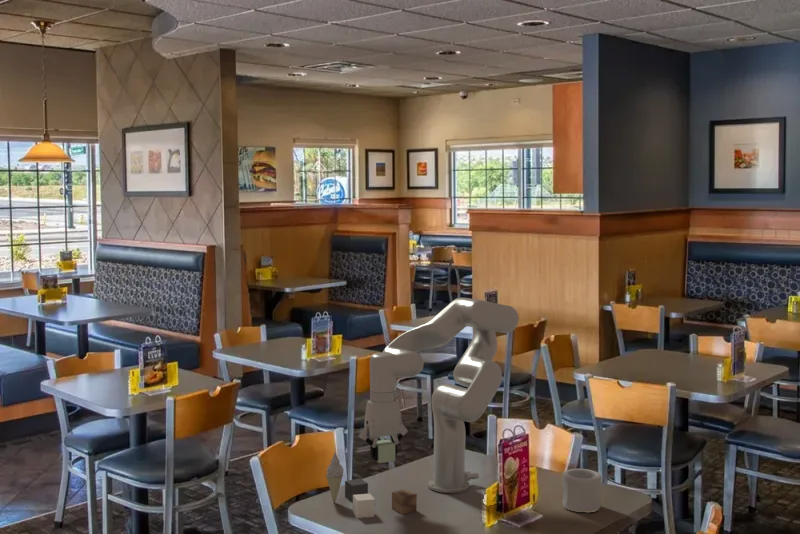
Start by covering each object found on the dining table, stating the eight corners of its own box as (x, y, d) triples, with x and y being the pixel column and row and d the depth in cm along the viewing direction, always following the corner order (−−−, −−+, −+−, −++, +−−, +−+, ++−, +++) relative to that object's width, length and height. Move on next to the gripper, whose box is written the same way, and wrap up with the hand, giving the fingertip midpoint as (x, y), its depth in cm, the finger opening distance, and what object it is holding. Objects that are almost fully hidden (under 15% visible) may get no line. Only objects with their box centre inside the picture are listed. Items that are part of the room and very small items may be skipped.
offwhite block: (369, 510, 251) (370, 493, 250) (374, 516, 246) (374, 499, 246) (352, 512, 249) (352, 494, 249) (356, 518, 245) (357, 500, 244)
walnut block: (406, 505, 255) (406, 488, 255) (416, 511, 251) (416, 493, 251) (391, 509, 252) (392, 491, 252) (401, 514, 248) (402, 496, 248)
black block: (360, 495, 264) (360, 478, 264) (367, 500, 260) (367, 483, 259) (344, 497, 262) (345, 480, 261) (352, 502, 257) (352, 485, 257)
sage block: (388, 456, 259) (388, 439, 259) (395, 460, 255) (395, 443, 254) (372, 458, 257) (372, 441, 257) (379, 463, 253) (379, 446, 252)
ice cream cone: (340, 506, 254) (340, 454, 253) (323, 504, 255) (323, 453, 254) (345, 500, 259) (345, 449, 258) (328, 499, 260) (328, 448, 259)
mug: (608, 510, 254) (609, 475, 253) (580, 516, 248) (581, 481, 248) (576, 496, 266) (577, 463, 265) (548, 502, 260) (549, 468, 259)
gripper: (404, 390, 261) (405, 451, 263) (350, 396, 254) (351, 458, 256) (415, 396, 254) (416, 458, 256) (360, 402, 247) (361, 466, 249)
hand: (383, 457), depth 256 cm, fingers closed on sage block, 5 cm apart
